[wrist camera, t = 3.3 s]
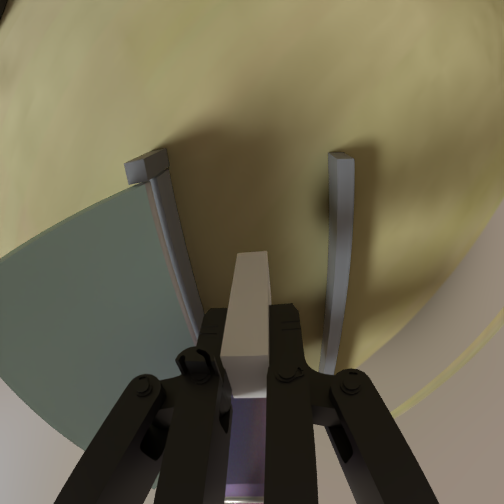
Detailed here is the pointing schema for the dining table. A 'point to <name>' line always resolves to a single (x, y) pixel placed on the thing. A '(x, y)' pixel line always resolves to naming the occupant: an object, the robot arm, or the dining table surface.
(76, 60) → the dining table surface
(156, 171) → the plastic rails
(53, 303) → the cover
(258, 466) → the beverage can
